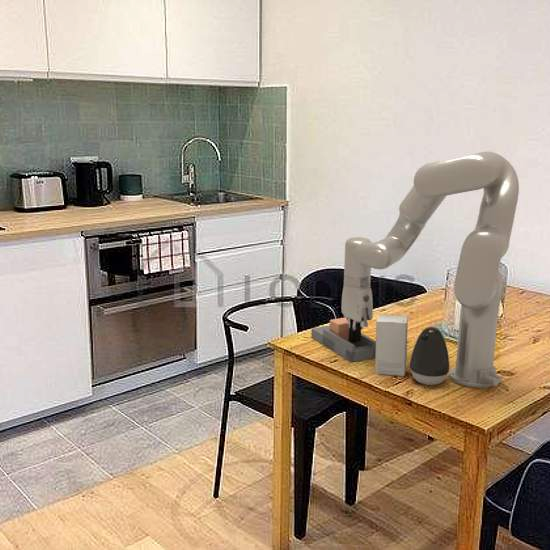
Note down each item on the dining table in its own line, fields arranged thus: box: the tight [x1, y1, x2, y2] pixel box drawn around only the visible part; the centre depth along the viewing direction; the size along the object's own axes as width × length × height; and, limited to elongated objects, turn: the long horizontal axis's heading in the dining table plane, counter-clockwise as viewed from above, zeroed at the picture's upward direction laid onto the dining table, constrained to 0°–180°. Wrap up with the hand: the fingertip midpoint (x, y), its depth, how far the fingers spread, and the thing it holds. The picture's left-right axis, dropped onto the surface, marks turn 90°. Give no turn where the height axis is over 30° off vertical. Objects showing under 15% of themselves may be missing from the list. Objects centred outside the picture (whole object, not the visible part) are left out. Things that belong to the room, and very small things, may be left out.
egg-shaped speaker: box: [409, 326, 450, 386], centre depth 170 cm, size 10×10×15 cm
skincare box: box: [374, 313, 409, 377], centre depth 176 cm, size 8×7×16 cm
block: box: [329, 317, 349, 339], centre depth 195 cm, size 5×5×5 cm
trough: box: [310, 324, 376, 363], centre depth 195 cm, size 23×8×5 cm, turn 27°
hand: (354, 341), depth 189 cm, fingers closed
